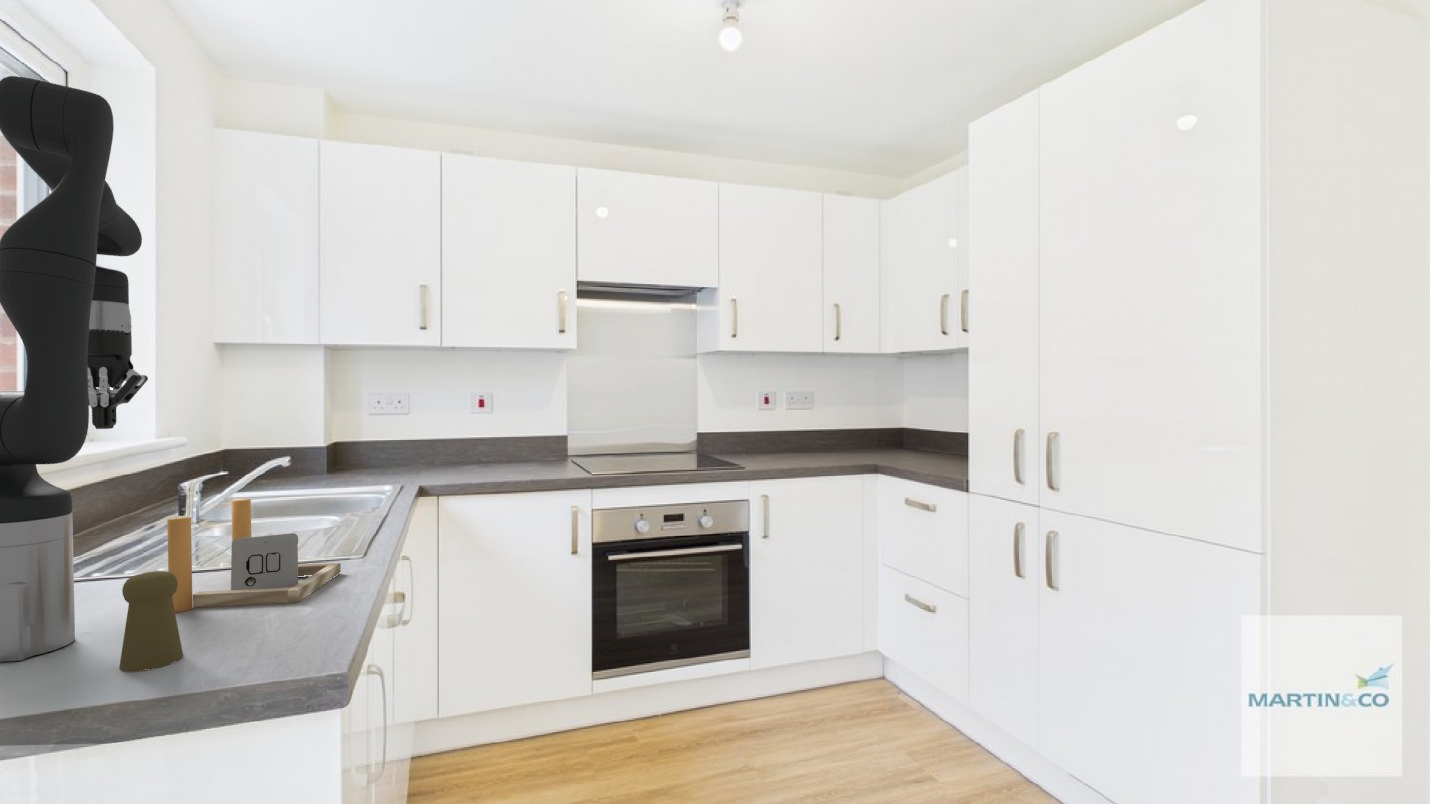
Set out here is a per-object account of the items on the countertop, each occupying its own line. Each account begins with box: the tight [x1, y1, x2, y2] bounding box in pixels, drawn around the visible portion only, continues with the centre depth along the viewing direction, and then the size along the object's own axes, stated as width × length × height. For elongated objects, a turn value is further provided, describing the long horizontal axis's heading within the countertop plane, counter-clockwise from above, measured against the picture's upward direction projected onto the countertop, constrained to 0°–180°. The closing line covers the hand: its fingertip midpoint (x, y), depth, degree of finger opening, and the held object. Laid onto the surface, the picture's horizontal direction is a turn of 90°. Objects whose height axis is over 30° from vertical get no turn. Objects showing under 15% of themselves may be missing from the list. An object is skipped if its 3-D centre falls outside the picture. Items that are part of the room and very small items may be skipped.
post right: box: [231, 498, 252, 543], centre depth 118 cm, size 3×3×14 cm
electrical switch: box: [230, 532, 299, 590], centre depth 112 cm, size 9×5×9 cm, turn 120°
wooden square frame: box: [192, 562, 342, 608], centre depth 112 cm, size 16×15×2 cm
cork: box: [118, 570, 184, 673], centre depth 82 cm, size 6×6×11 cm
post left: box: [166, 516, 194, 614], centre depth 101 cm, size 3×3×14 cm
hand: (104, 428), depth 115 cm, fingers closed
